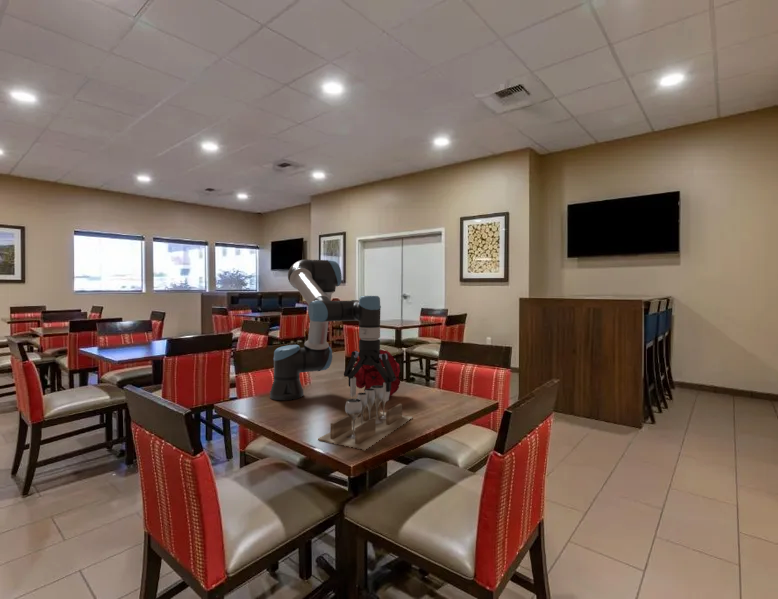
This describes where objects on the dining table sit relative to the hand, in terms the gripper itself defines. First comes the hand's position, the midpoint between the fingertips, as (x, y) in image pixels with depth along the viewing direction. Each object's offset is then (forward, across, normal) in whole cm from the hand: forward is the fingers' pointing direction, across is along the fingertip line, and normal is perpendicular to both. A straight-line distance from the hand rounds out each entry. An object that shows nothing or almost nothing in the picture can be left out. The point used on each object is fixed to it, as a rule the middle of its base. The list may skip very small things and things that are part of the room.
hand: (369, 398), depth 145 cm
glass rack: (+11, 0, 0) cm, 11 cm away
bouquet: (+11, -19, +41) cm, 47 cm away
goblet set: (+10, 0, 0) cm, 10 cm away
